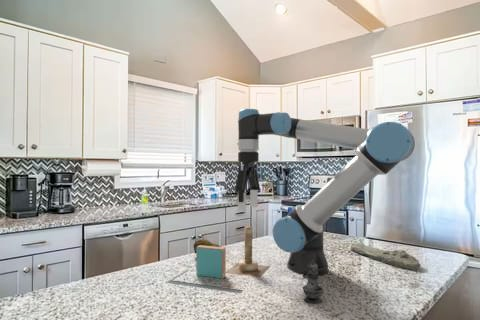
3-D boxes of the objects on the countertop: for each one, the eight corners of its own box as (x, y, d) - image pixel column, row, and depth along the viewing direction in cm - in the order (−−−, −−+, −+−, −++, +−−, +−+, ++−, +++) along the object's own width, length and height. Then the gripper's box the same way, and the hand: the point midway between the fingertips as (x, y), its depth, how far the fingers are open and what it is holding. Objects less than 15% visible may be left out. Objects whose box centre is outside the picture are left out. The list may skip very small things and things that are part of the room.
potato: (225, 259, 141) (225, 240, 141) (194, 261, 138) (194, 242, 138) (221, 254, 149) (221, 236, 149) (191, 256, 146) (191, 237, 146)
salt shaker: (300, 297, 101) (300, 256, 102) (319, 296, 102) (319, 256, 102) (305, 305, 96) (305, 262, 96) (326, 304, 96) (325, 262, 96)
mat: (254, 280, 115) (254, 278, 115) (240, 295, 102) (240, 293, 102) (187, 272, 124) (187, 270, 124) (166, 284, 111) (166, 282, 111)
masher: (260, 267, 127) (260, 226, 127) (254, 273, 120) (254, 229, 120) (242, 265, 129) (242, 224, 129) (236, 271, 123) (236, 228, 123)
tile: (225, 276, 117) (225, 247, 117) (222, 279, 115) (222, 249, 115) (199, 273, 121) (199, 245, 121) (196, 275, 118) (196, 246, 118)
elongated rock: (362, 251, 161) (345, 254, 157) (361, 240, 161) (344, 243, 157) (428, 268, 129) (409, 273, 125) (426, 254, 129) (407, 258, 125)
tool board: (270, 268, 128) (270, 266, 128) (260, 279, 116) (260, 276, 116) (238, 265, 133) (238, 262, 133) (225, 275, 121) (225, 272, 121)
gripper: (249, 152, 138) (249, 204, 138) (225, 150, 115) (225, 212, 115) (267, 152, 136) (267, 205, 135) (246, 150, 112) (246, 214, 112)
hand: (248, 209), depth 125 cm, fingers open, 13 cm apart
